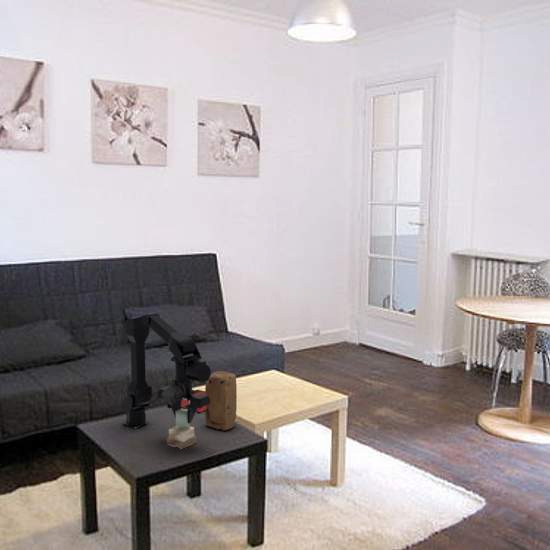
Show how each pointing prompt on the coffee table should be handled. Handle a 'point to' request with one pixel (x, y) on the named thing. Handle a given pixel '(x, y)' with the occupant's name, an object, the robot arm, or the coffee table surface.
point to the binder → (186, 402)
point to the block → (221, 400)
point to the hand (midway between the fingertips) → (183, 421)
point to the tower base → (180, 443)
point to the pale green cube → (182, 418)
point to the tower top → (181, 433)
